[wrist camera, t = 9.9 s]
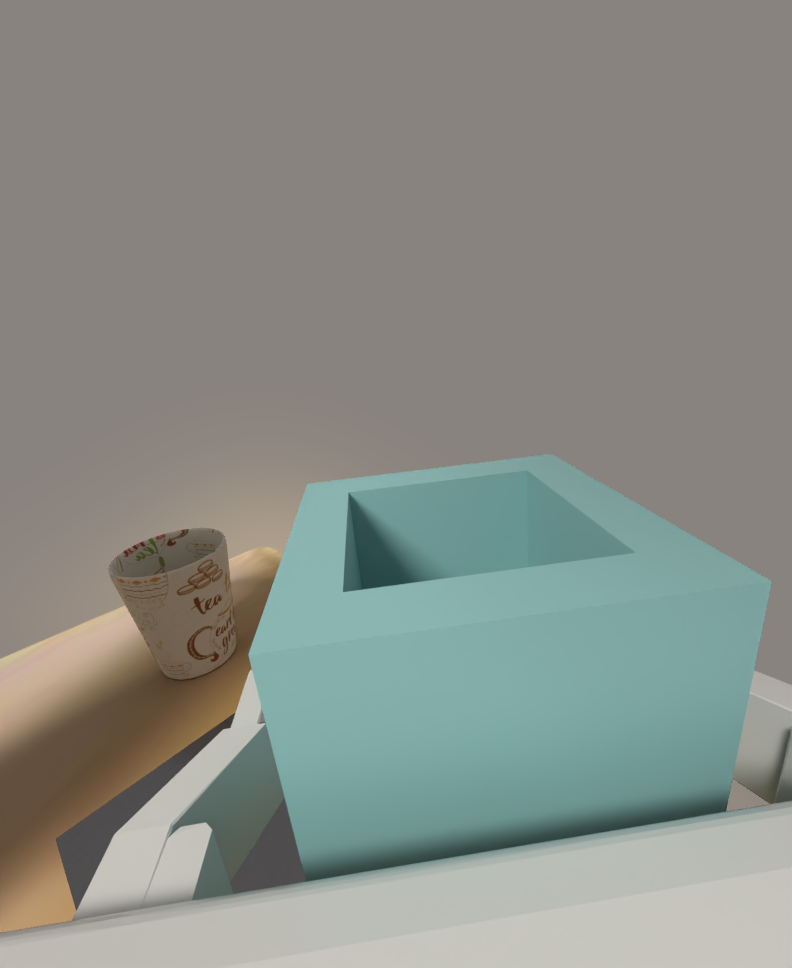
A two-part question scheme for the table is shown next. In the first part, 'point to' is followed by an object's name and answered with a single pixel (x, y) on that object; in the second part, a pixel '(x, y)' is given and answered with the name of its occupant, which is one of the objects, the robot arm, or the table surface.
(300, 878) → the plate
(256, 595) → the table surface
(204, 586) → the mug
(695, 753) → the sleeve
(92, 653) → the table surface
